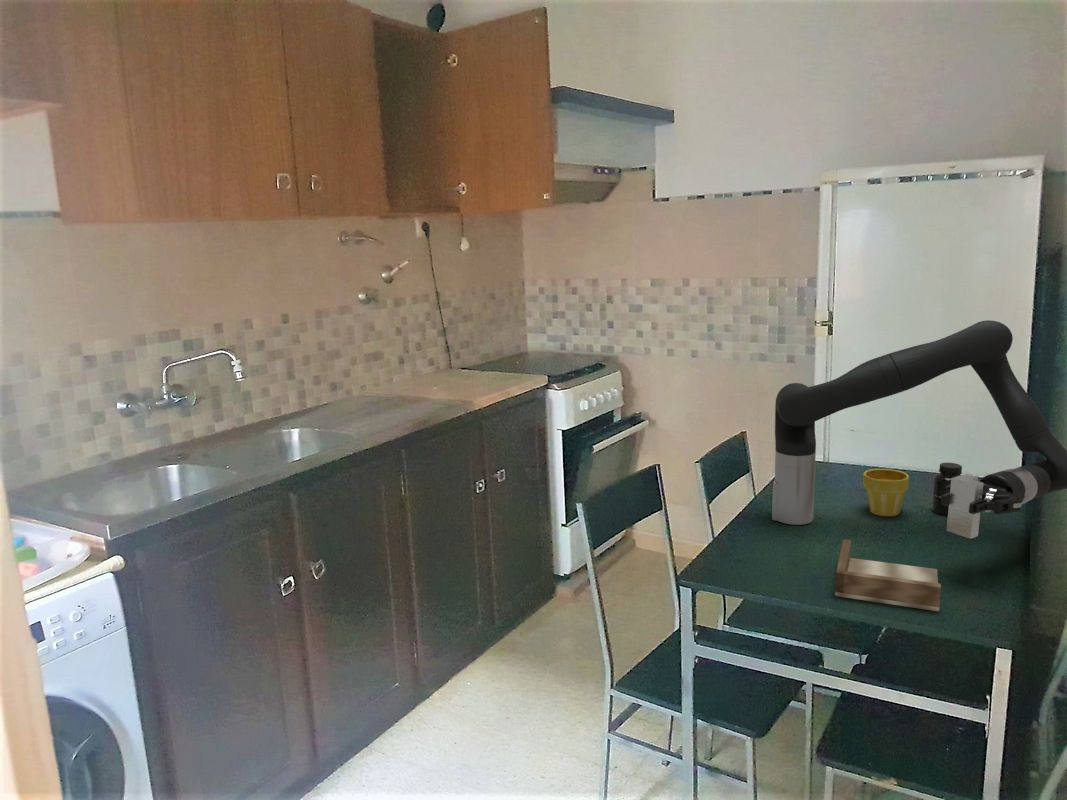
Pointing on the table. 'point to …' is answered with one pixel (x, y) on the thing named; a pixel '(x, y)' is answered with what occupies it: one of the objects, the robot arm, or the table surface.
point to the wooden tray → (886, 582)
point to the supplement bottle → (943, 485)
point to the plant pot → (885, 490)
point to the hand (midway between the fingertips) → (957, 504)
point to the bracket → (964, 505)
